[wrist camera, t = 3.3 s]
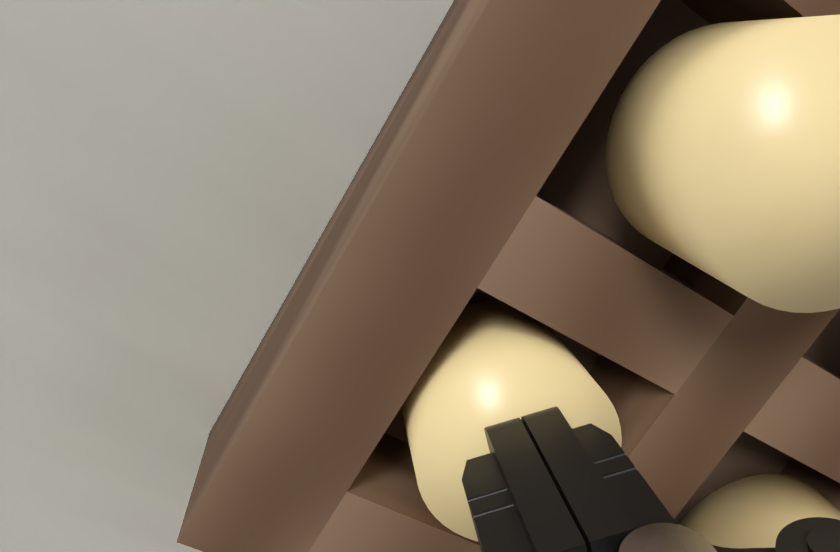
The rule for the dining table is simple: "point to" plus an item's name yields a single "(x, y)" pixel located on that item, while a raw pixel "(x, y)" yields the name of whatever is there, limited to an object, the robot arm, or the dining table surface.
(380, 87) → the dining table surface
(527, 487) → the robot arm
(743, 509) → the button
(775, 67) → the button
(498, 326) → the button
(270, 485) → the button board
